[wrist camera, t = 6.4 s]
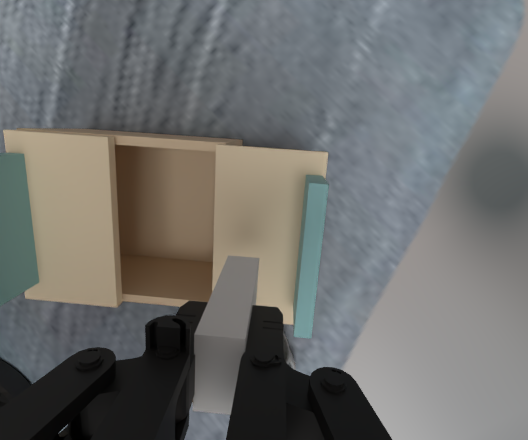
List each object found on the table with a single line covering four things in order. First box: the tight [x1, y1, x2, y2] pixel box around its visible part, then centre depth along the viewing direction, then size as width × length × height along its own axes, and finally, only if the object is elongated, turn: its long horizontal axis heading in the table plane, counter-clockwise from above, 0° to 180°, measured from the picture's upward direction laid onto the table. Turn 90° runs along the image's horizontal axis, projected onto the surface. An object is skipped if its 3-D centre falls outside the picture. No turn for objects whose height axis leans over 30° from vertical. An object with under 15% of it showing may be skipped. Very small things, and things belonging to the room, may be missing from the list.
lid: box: [212, 144, 329, 338], centre depth 21 cm, size 7×12×4 cm, turn 176°
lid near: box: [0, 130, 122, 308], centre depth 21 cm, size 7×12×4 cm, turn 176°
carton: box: [17, 128, 243, 307], centre depth 27 cm, size 14×12×8 cm
